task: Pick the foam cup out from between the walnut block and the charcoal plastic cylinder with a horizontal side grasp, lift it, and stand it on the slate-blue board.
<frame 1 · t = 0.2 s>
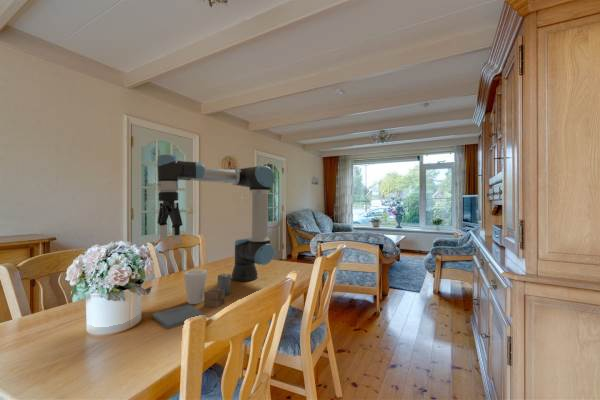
hand: (169, 241, 115), 27 cm above the table, tool pointing down, fingers open, 13 cm apart
slate board: (178, 316, 105), on the table
charcoal cylinder: (223, 294, 131), on the table
walnut block: (214, 304, 118), on the table
foam cup: (195, 302, 121), on the table
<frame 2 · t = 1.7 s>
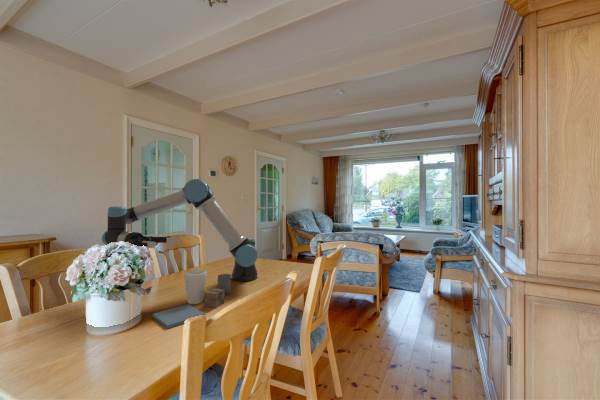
hand: (166, 242, 122), 26 cm above the table, tool horizontal, fingers open, 13 cm apart
nothing on the table moved.
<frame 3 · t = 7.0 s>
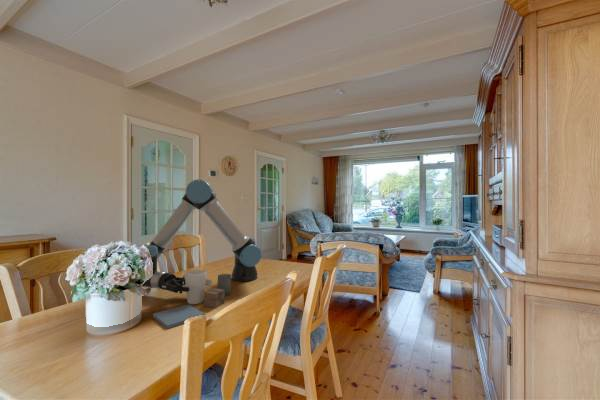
hand: (204, 286, 120), 7 cm above the table, tool horizontal, fingers closed on foam cup, 9 cm apart
foam cup: (195, 301, 121), on the table, touching gripper
everything else where it was.
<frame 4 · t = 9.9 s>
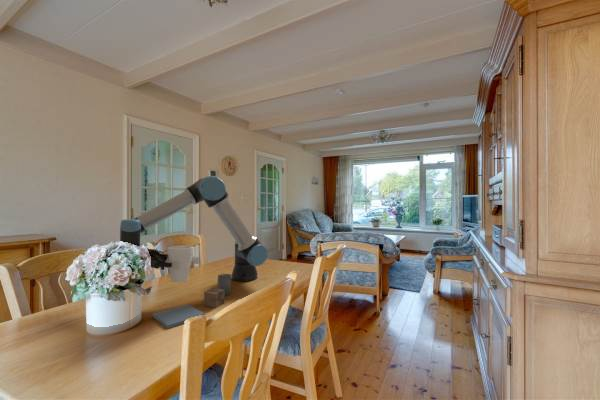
hand: (189, 262, 106), 21 cm above the table, tool horizontal, fingers closed on foam cup, 9 cm apart
foam cup: (179, 280, 108), point 13 cm above the table, touching gripper
everything else where it was.
when the fingers open (10 cm above the table, at t = 13.0 s): foam cup drops 1 cm, resting on slate board.
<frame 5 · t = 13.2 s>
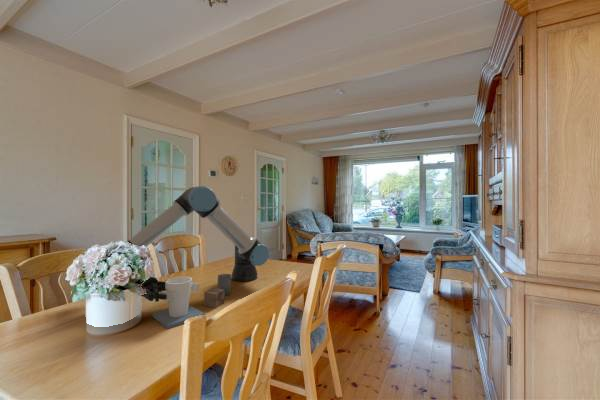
hand: (187, 292, 104), 10 cm above the table, tool horizontal, fingers open, 12 cm apart
foam cup: (178, 314, 105), point 1 cm above the table, touching slate board
everything else where it was.
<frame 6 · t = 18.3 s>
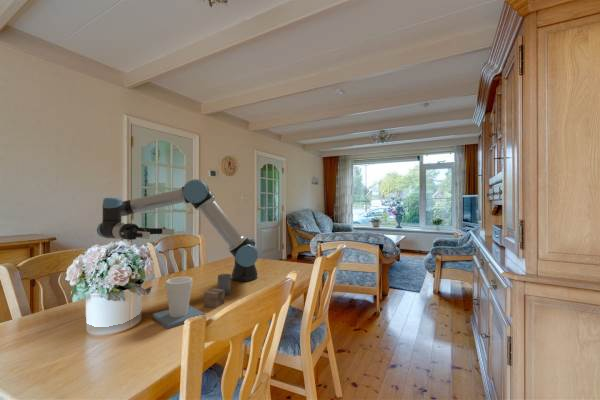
hand: (162, 233, 121), 30 cm above the table, tool horizontal, fingers open, 13 cm apart
nothing on the table moved.
at the end: foam cup inside the target area on the slate board (0.1 cm from its centre), point 1.0 cm above the slate board's base; foam cup tilted 0°; the gripper is holding nothing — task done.
